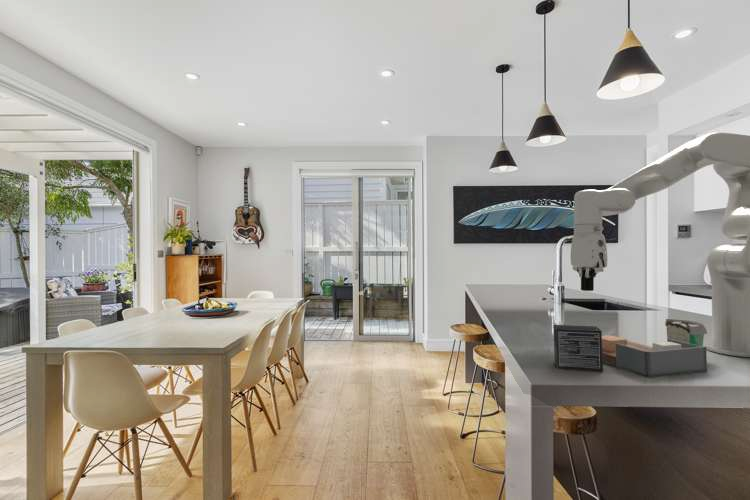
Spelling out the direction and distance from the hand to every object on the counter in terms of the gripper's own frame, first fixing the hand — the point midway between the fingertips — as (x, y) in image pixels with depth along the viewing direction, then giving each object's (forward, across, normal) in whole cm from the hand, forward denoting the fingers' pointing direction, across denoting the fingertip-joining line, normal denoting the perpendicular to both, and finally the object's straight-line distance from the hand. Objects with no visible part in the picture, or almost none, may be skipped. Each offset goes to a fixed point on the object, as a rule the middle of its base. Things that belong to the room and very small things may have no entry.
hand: (587, 290), depth 115 cm
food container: (+18, -17, -19) cm, 31 cm away
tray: (+18, -21, -2) cm, 28 cm away
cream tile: (+14, -19, -5) cm, 24 cm away
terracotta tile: (+15, -9, +1) cm, 18 cm away
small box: (+18, -14, +16) cm, 28 cm away
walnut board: (+18, -10, -3) cm, 21 cm away
